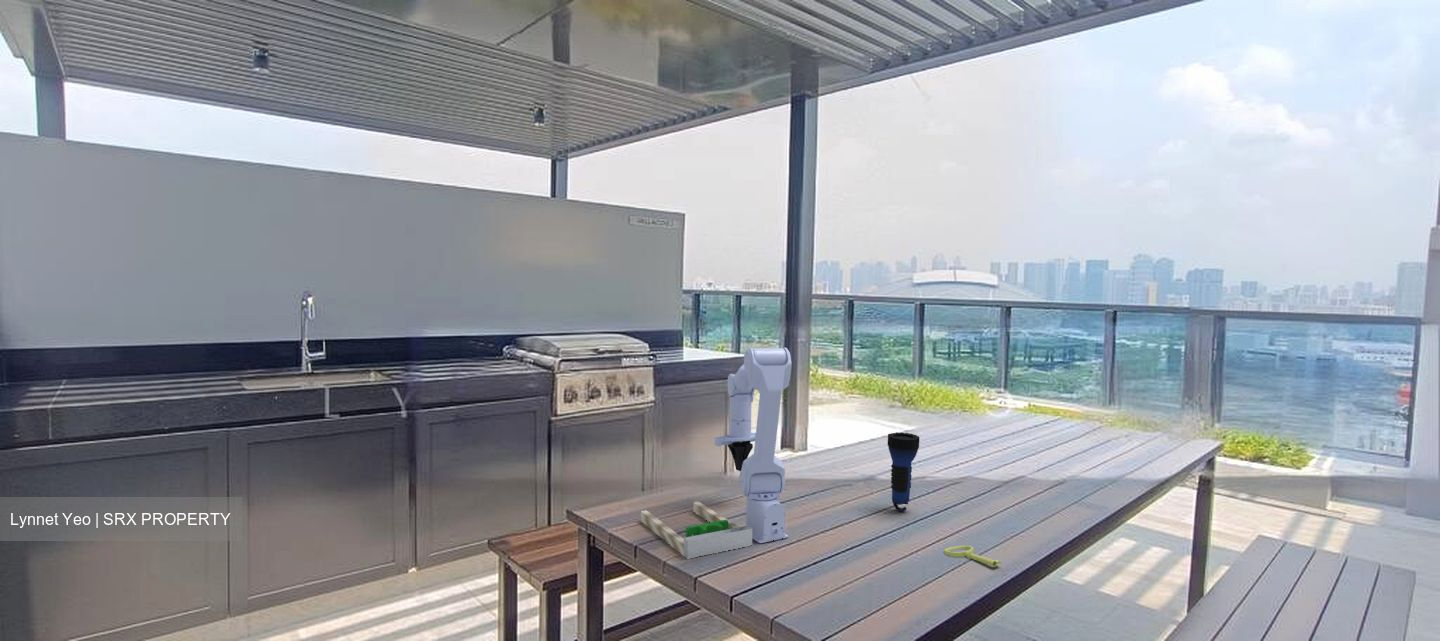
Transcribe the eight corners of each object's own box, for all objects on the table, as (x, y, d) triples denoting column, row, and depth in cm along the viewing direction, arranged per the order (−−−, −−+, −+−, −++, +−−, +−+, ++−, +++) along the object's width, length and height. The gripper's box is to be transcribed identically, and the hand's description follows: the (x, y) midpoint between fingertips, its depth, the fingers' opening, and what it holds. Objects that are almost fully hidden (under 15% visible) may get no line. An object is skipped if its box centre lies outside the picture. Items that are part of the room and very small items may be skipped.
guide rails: (747, 542, 145) (747, 532, 145) (683, 556, 138) (683, 544, 137) (698, 511, 166) (698, 501, 166) (640, 521, 158) (640, 511, 158)
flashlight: (917, 518, 163) (919, 440, 162) (884, 514, 165) (886, 437, 165) (918, 508, 170) (919, 433, 170) (887, 505, 173) (888, 431, 172)
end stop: (752, 546, 144) (752, 528, 143) (687, 559, 136) (688, 541, 136) (747, 542, 145) (747, 525, 145) (683, 556, 138) (683, 537, 137)
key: (996, 573, 132) (996, 562, 132) (939, 555, 141) (939, 545, 141) (1010, 563, 137) (1010, 553, 137) (955, 546, 146) (955, 537, 146)
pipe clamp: (692, 551, 141) (692, 532, 141) (685, 545, 144) (685, 526, 144) (733, 542, 146) (733, 523, 146) (726, 537, 149) (726, 518, 149)
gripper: (755, 414, 178) (754, 463, 178) (709, 418, 171) (708, 469, 171) (769, 418, 172) (768, 469, 172) (722, 423, 165) (721, 476, 165)
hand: (739, 469), depth 171 cm, fingers closed
